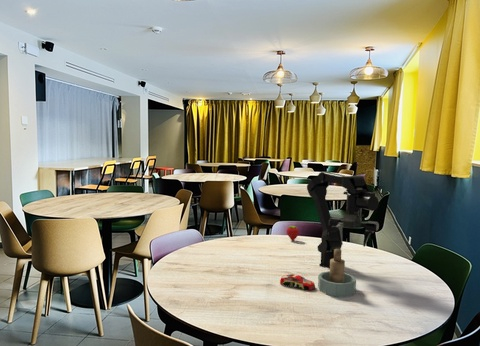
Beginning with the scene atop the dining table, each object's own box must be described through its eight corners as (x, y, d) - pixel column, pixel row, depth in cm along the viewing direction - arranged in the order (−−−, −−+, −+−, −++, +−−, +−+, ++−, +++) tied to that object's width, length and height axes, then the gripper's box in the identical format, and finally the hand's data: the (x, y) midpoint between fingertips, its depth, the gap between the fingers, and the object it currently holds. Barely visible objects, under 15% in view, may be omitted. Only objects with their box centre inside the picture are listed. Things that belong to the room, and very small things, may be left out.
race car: (316, 287, 135) (317, 277, 134) (312, 292, 130) (312, 282, 130) (283, 280, 141) (284, 270, 141) (278, 285, 136) (278, 275, 136)
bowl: (313, 291, 130) (313, 279, 130) (325, 280, 141) (325, 269, 141) (349, 299, 124) (350, 287, 123) (358, 287, 135) (359, 275, 134)
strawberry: (294, 243, 196) (295, 225, 195) (283, 240, 201) (284, 222, 200) (301, 241, 200) (301, 223, 199) (290, 238, 205) (290, 221, 205)
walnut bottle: (326, 286, 133) (327, 249, 132) (334, 283, 136) (336, 247, 135) (338, 291, 129) (339, 252, 128) (346, 287, 132) (348, 250, 131)
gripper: (324, 207, 142) (323, 245, 143) (374, 212, 133) (372, 253, 134) (333, 203, 152) (332, 239, 153) (379, 208, 142) (378, 246, 143)
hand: (352, 244), depth 145 cm, fingers open, 9 cm apart
